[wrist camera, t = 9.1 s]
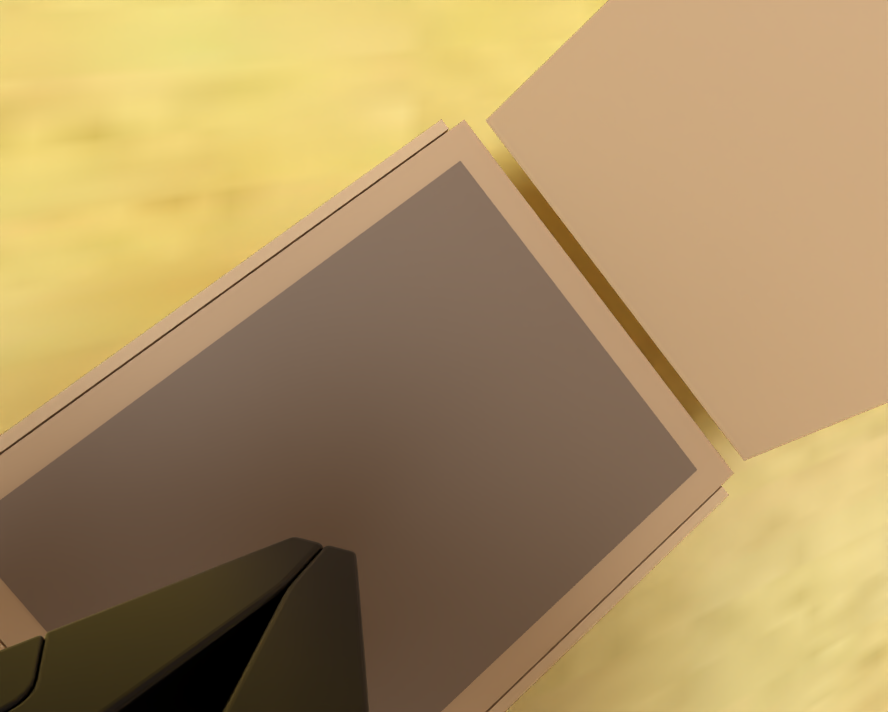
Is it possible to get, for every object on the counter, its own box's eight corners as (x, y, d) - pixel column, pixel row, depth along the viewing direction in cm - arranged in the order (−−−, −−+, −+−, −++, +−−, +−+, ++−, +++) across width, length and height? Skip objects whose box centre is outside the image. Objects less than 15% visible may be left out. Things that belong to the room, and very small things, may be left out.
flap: (1243, 259, 12) (1226, 250, 12) (882, -269, 11) (880, -259, 11) (743, 461, 17) (745, 449, 18) (485, 120, 17) (493, 117, 17)
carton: (264, 853, 18) (252, 957, 15) (-40, 501, 18) (-126, 524, 14) (673, 470, 22) (742, 483, 18) (432, 157, 21) (456, 108, 17)
